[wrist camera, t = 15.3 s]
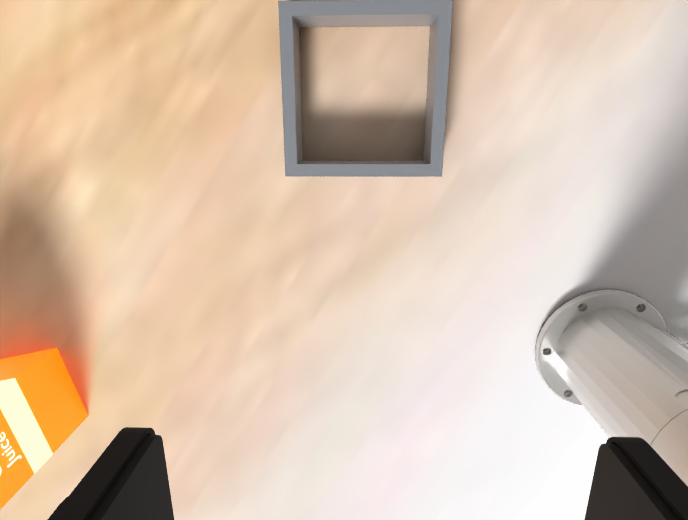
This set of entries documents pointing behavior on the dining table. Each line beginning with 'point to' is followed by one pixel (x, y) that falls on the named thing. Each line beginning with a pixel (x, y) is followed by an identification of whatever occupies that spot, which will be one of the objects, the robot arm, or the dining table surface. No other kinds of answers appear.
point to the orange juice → (34, 415)
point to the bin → (365, 11)
